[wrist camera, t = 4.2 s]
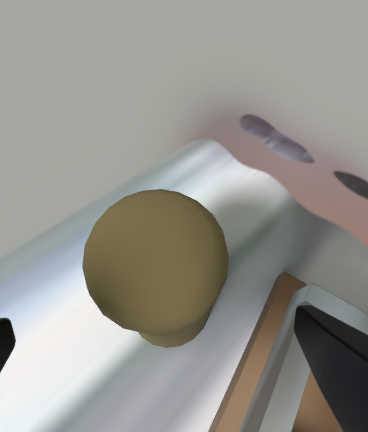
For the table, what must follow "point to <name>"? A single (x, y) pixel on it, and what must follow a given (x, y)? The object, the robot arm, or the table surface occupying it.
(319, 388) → the robot arm
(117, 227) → the olive brown knob
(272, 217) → the table surface
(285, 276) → the socket board
